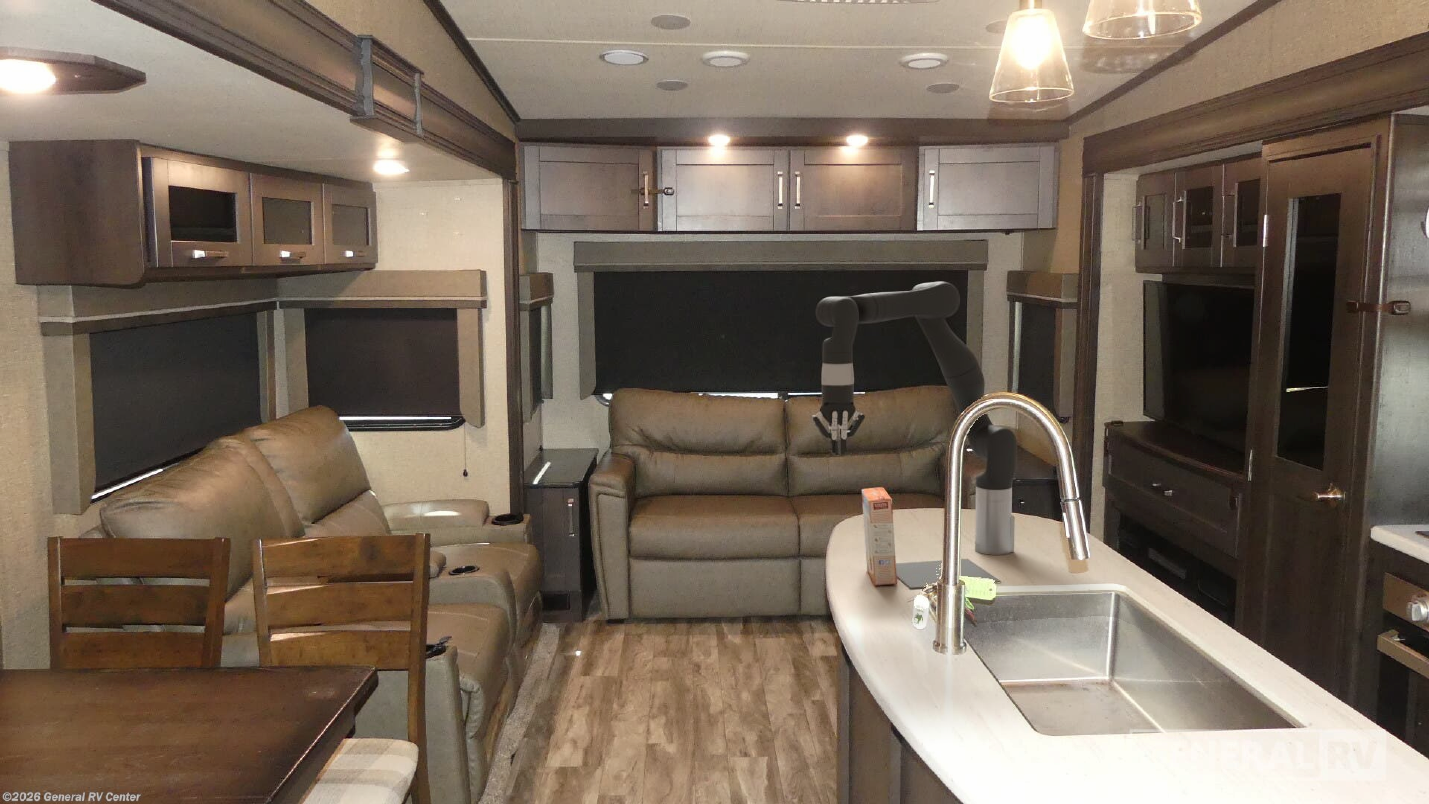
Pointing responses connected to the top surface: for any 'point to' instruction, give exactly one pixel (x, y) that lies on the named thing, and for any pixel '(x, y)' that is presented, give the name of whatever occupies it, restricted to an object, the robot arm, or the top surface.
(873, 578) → the cracker box
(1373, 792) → the top surface
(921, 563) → the mat
